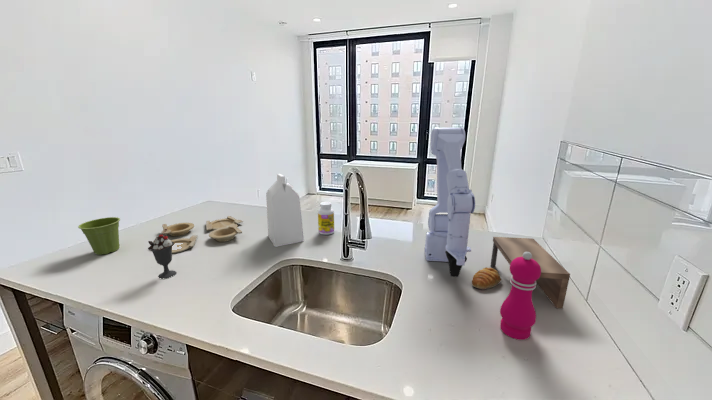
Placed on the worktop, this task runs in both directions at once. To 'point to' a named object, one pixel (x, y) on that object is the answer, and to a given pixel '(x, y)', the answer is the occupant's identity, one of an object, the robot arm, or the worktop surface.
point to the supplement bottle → (325, 219)
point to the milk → (283, 213)
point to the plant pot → (102, 234)
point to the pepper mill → (520, 298)
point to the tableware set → (221, 227)
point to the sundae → (163, 254)
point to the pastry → (486, 278)
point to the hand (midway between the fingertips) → (453, 275)
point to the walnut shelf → (551, 271)
